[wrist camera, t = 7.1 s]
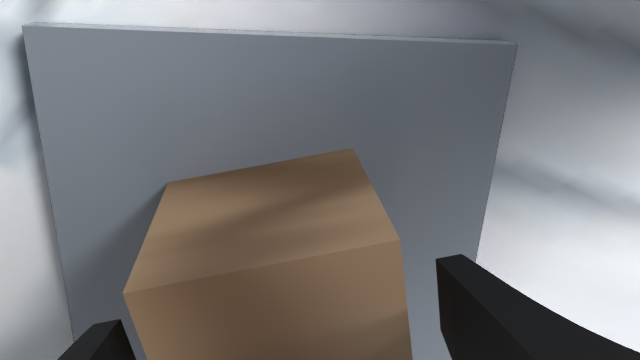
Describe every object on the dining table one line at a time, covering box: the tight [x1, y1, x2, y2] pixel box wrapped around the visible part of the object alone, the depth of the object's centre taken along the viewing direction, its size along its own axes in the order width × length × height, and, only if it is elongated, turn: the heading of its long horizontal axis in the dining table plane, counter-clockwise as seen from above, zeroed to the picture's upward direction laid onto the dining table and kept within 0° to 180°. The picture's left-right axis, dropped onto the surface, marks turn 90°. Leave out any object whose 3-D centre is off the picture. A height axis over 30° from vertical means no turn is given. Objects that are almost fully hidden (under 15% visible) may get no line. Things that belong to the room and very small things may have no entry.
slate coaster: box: [22, 22, 517, 360], centre depth 15 cm, size 12×12×1 cm
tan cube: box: [122, 148, 413, 360], centre depth 12 cm, size 5×5×5 cm
